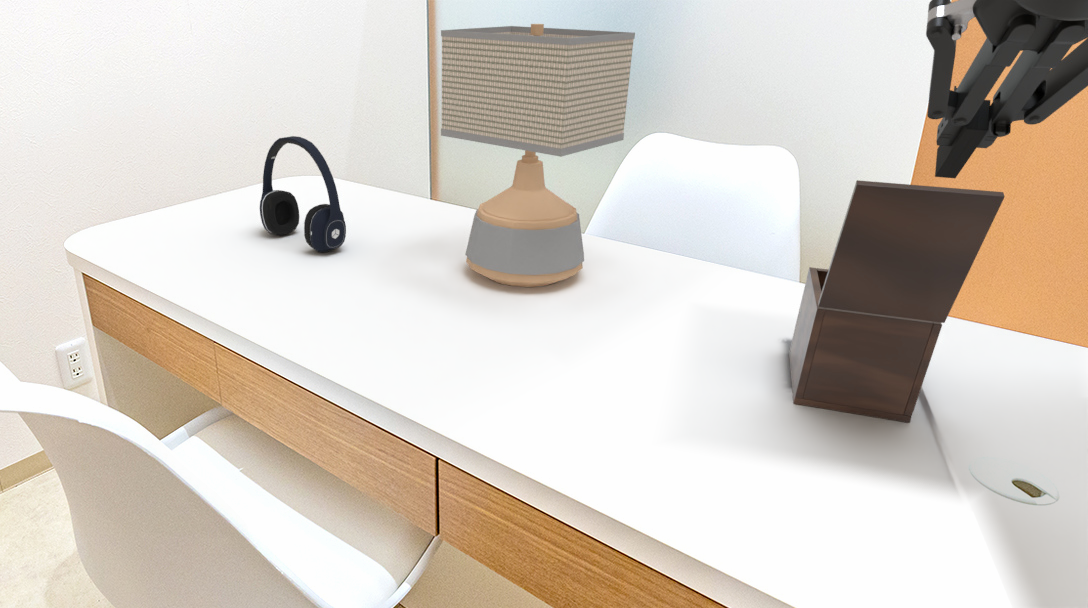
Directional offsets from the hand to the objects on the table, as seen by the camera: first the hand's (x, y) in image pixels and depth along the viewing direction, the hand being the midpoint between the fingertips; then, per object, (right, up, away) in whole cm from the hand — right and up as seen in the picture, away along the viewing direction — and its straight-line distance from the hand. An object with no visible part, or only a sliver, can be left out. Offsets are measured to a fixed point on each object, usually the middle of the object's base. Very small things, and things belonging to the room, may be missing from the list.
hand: (946, 163), depth 62 cm
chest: (+5, -19, +26) cm, 33 cm away
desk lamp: (-29, -2, +59) cm, 66 cm away
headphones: (-67, +5, +72) cm, 99 cm away
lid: (+2, -6, +10) cm, 12 cm away
